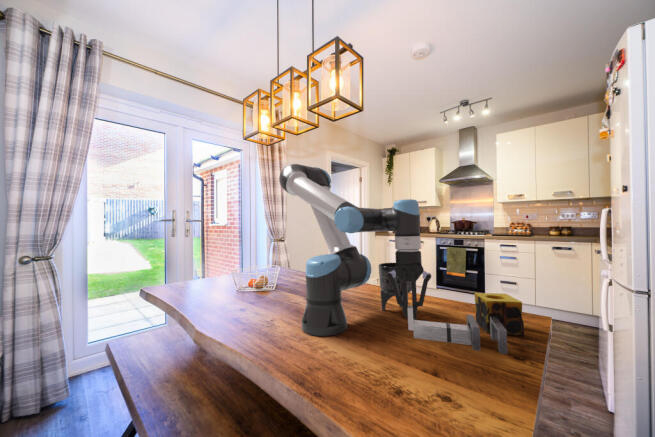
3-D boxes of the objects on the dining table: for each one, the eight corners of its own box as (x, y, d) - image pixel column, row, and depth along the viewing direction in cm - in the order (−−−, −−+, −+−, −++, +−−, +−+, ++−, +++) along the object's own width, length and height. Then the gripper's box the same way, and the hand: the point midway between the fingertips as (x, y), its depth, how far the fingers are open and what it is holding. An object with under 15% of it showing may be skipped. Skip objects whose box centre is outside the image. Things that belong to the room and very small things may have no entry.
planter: (387, 303, 110) (386, 261, 111) (418, 308, 103) (416, 263, 103) (374, 312, 100) (372, 265, 100) (407, 318, 92) (405, 268, 93)
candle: (525, 336, 76) (523, 302, 76) (487, 334, 78) (485, 301, 78) (508, 323, 86) (507, 293, 86) (475, 322, 88) (474, 292, 88)
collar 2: (500, 353, 66) (499, 329, 66) (490, 337, 75) (489, 316, 76) (507, 354, 65) (506, 330, 66) (497, 338, 75) (496, 317, 75)
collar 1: (473, 350, 68) (472, 326, 68) (467, 334, 78) (466, 314, 78) (480, 350, 68) (479, 327, 68) (473, 335, 77) (472, 315, 77)
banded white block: (413, 338, 76) (413, 324, 76) (414, 332, 80) (413, 319, 80) (475, 346, 71) (474, 331, 71) (472, 339, 74) (472, 325, 74)
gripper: (384, 251, 78) (387, 331, 77) (431, 251, 73) (434, 336, 72) (388, 249, 85) (390, 322, 84) (430, 249, 80) (434, 326, 79)
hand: (411, 328), depth 78 cm, fingers closed
